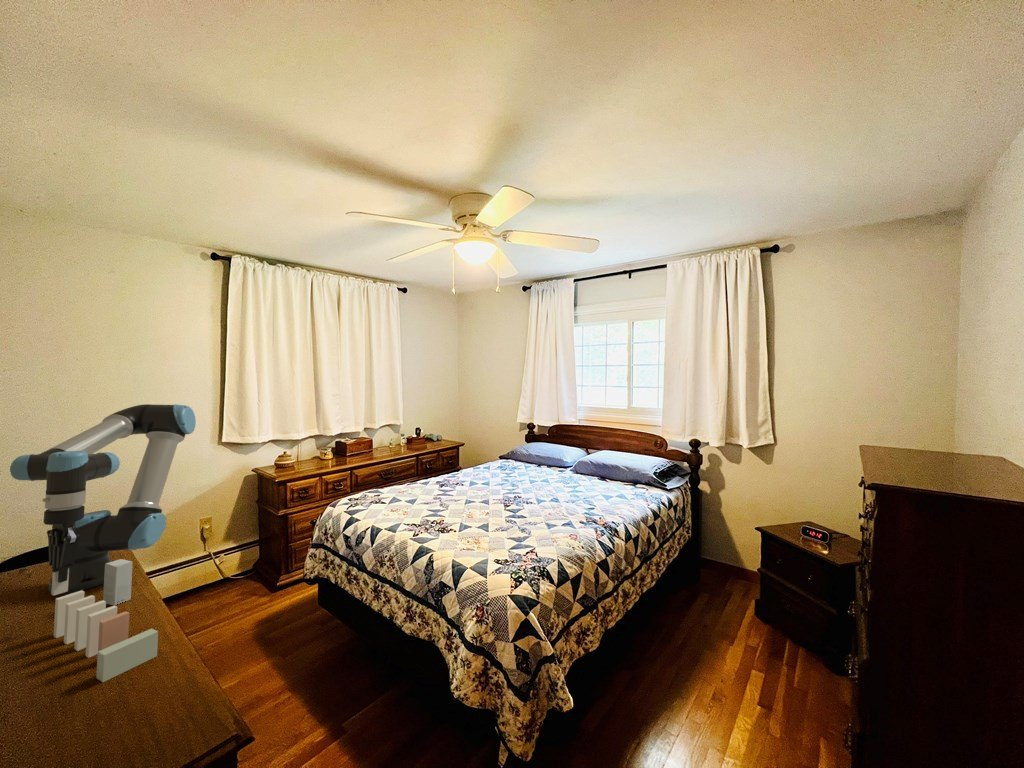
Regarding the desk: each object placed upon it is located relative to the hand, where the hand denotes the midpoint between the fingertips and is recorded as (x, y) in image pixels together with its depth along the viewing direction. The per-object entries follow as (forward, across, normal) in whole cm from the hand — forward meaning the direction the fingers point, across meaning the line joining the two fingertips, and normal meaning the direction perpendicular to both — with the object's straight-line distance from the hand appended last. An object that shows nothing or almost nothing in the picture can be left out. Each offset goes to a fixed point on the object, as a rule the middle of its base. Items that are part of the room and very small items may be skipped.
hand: (59, 592), depth 109 cm
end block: (+10, +37, 0) cm, 38 cm away
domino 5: (+10, +30, 0) cm, 31 cm away
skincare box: (+10, -3, +14) cm, 17 cm away
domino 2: (+10, +12, 0) cm, 15 cm away
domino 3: (+10, +18, 0) cm, 20 cm away
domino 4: (+10, +24, 0) cm, 26 cm away
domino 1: (+9, +6, 0) cm, 11 cm away
